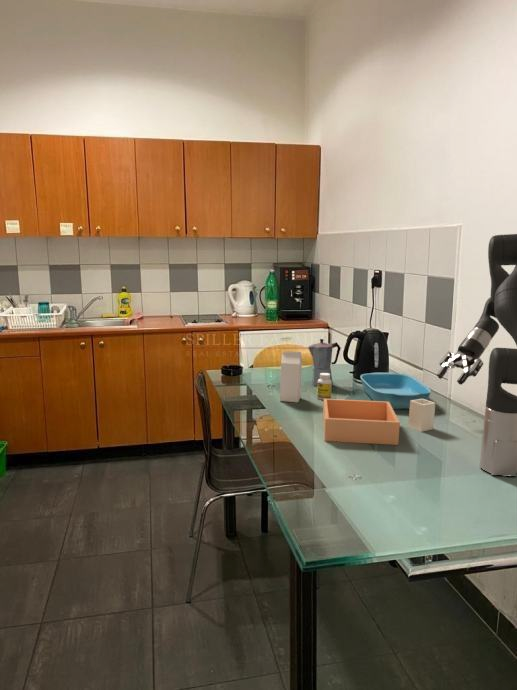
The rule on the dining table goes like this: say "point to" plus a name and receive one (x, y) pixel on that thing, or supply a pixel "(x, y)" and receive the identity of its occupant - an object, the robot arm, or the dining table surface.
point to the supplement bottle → (324, 386)
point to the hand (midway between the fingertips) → (448, 380)
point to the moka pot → (322, 359)
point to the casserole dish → (394, 388)
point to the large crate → (360, 421)
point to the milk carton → (290, 376)
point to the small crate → (421, 415)
